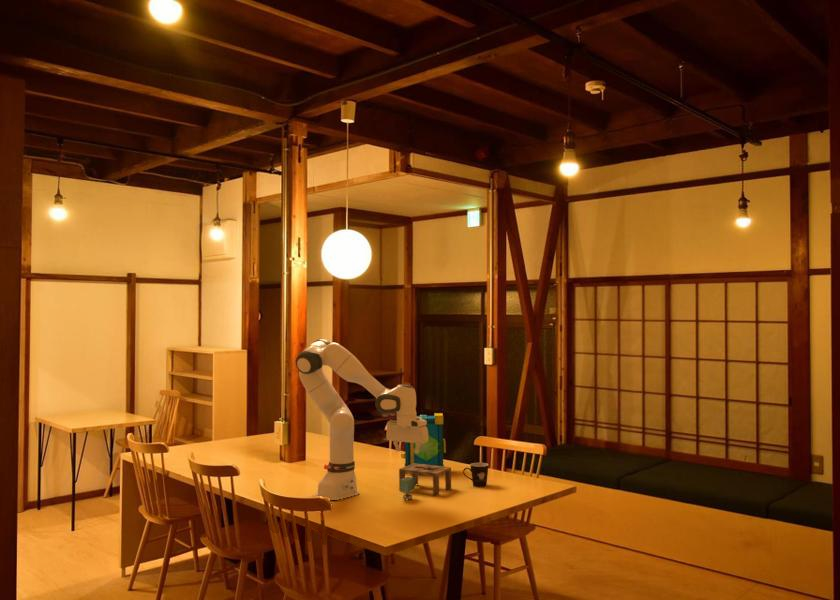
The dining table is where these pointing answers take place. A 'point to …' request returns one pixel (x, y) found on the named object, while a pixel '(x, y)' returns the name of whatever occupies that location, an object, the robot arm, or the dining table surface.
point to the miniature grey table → (427, 470)
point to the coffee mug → (478, 474)
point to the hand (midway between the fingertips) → (407, 452)
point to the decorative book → (428, 444)
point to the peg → (407, 486)
